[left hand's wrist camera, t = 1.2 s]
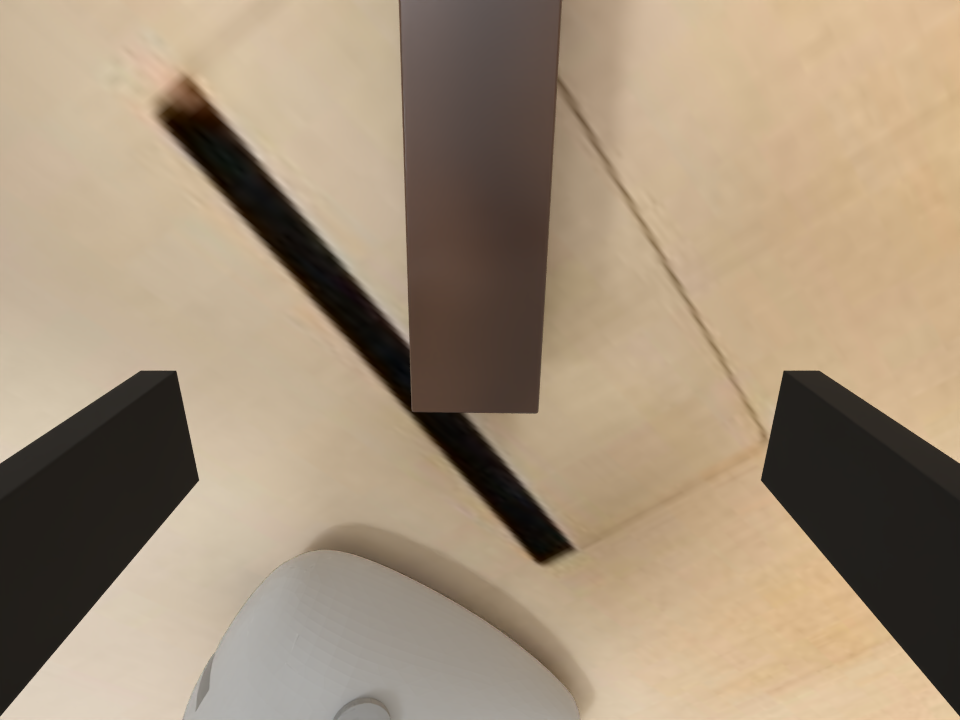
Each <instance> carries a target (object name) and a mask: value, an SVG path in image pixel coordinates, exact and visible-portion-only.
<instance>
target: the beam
mask: <svg viewBox="0 0 960 720" xmlns="http://www.w3.org/2000/svg"><path fill="white" fill-rule="evenodd" d="M561 9H562V0H399V22H400V53H401V85H402V116H403V148H404V180H405V211H406V243H407V274H408V306H409V337H410V369H411V400H412V411H413V412H460V413H538V408H539V390H540V373H541V356H542V338H543V321H544V304H545V286H546V269H547V252H548V234H549V217H550V200H551V182H552V165H553V148H554V130H555V113H556V96H557V78H558V61H559V44H560V26H561Z"/></svg>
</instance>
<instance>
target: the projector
mask: <svg viewBox="0 0 960 720" xmlns="http://www.w3.org/2000/svg"><path fill="white" fill-rule="evenodd" d="M183 720H580V715H579V710H578V707H577V705H576V702H575V699H574V698H573V696H572V695H571V693H570V692H569V691H568V689H567V688H566V687H565V686H564V685H563V684H562V683H561V682H560V681H559V680H558V679H557V678H556V677H555V676H554V675H553V674H552V673H551V672H550V671H549V670H548V669H547V668H546V667H545V666H544V665H542V664H541V663H540V662H539V661H538V660H537V659H536V658H535V657H533V656H532V655H531V654H530V653H528V652H527V651H526V650H525V649H523V648H522V647H521V646H520V645H518V644H517V643H516V642H514V641H513V640H512V639H510V638H509V637H508V636H506V635H505V634H504V633H502V632H501V631H499V630H498V629H497V628H495V627H494V626H492V625H491V624H489V623H488V622H486V621H485V620H483V619H482V618H480V617H479V616H477V615H475V614H474V613H472V612H471V611H469V610H467V609H466V608H464V607H463V606H461V605H459V604H458V603H456V602H454V601H452V600H451V599H449V598H447V597H445V596H444V595H442V594H440V593H438V592H436V591H435V590H433V589H431V588H429V587H427V586H425V585H423V584H421V583H419V582H417V581H415V580H413V579H411V578H409V577H407V576H405V575H403V574H401V573H399V572H397V571H395V570H393V569H390V568H388V567H386V566H383V565H381V564H379V563H376V562H374V561H371V560H369V559H366V558H363V557H360V556H357V555H354V554H350V553H346V552H342V551H336V550H316V551H310V552H307V553H304V554H301V555H299V556H296V557H294V558H292V559H290V560H288V561H287V562H285V563H283V564H282V565H280V566H279V567H278V568H276V569H275V570H274V571H273V572H272V573H271V574H270V575H269V576H268V577H267V578H266V579H265V580H264V581H263V582H262V583H261V585H260V586H259V587H258V588H257V589H256V590H255V591H254V592H253V594H252V595H251V596H250V597H249V599H248V600H247V601H246V603H245V604H244V605H243V607H242V608H241V610H240V611H239V613H238V614H237V616H236V617H235V618H234V620H233V621H232V623H231V625H230V626H229V628H228V629H227V631H226V633H225V634H224V636H223V638H222V639H221V641H220V643H219V645H218V648H217V650H216V652H215V653H214V654H213V655H212V657H211V658H210V660H209V661H208V663H207V665H206V667H205V668H204V670H203V672H202V674H201V676H200V678H199V680H198V682H197V684H196V686H195V688H194V690H193V692H192V694H191V697H190V699H189V701H188V704H187V706H186V710H185V713H184V716H183Z"/></svg>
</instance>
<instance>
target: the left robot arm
mask: <svg viewBox="0 0 960 720" xmlns="http://www.w3.org/2000/svg"><path fill="white" fill-rule="evenodd" d="M198 481H199V478H198V473H197V468H196V463H195V458H194V454H193V449H192V444H191V439H190V434H189V430H188V425H187V420H186V415H185V410H184V406H183V401H182V396H181V391H180V386H179V382H178V377H177V372H176V371H140V372H138V373H137V374H135V375H134V376H132V377H131V378H129V379H128V380H126V381H125V382H123V383H122V384H120V385H119V386H117V387H115V388H114V389H112V390H111V391H109V392H108V393H106V394H105V395H103V396H102V397H100V398H99V399H97V400H96V401H94V402H93V403H91V404H90V405H88V406H87V407H85V408H84V409H82V410H81V411H79V412H78V413H76V414H75V415H73V416H72V417H70V418H69V419H67V420H66V421H64V422H63V423H61V424H59V425H58V426H56V427H55V428H53V429H52V430H50V431H49V432H47V433H46V434H44V435H43V436H41V437H40V438H38V439H37V440H35V441H34V442H32V443H31V444H29V445H28V446H26V447H25V448H23V449H22V450H20V451H19V452H17V453H16V454H14V455H13V456H11V457H10V458H8V459H6V460H5V461H3V462H2V463H0V716H1V715H2V714H3V712H4V711H5V710H6V709H7V708H8V707H9V705H10V704H11V703H12V702H13V701H14V699H15V698H16V697H17V696H18V695H19V693H20V692H21V691H22V690H23V689H24V688H25V686H26V685H27V684H28V683H29V682H30V680H31V679H32V678H33V677H34V676H35V674H36V673H37V672H38V671H39V670H40V669H41V667H42V666H43V665H44V664H45V663H46V661H47V660H48V659H49V658H50V657H51V655H52V654H53V653H54V652H55V651H56V650H57V648H58V647H59V646H60V645H61V644H62V642H63V641H64V640H65V639H66V638H67V636H68V635H69V634H70V633H71V632H72V631H73V629H74V628H75V627H76V626H77V625H78V623H79V622H80V621H81V620H82V619H83V617H84V616H85V615H86V614H87V613H88V612H89V610H90V609H91V608H92V607H93V606H94V604H95V603H96V602H97V601H98V600H99V598H100V597H101V596H102V595H103V594H104V593H105V591H106V590H107V589H108V588H109V587H110V585H111V584H112V583H113V582H114V581H115V579H116V578H117V577H118V576H119V575H120V574H121V572H122V571H123V570H124V569H125V568H126V566H127V565H128V564H129V563H130V562H131V560H132V559H133V558H134V557H135V556H136V555H137V553H138V552H139V551H140V550H141V549H142V547H143V546H144V545H145V544H146V543H147V541H148V540H149V539H150V538H151V537H152V536H153V534H154V533H155V532H156V531H157V530H158V528H159V527H160V526H161V525H162V524H163V522H164V521H165V520H166V519H167V518H168V517H169V515H170V514H171V513H172V512H173V511H174V509H175V508H176V507H177V506H178V505H179V503H180V502H181V501H182V500H183V499H184V498H185V496H186V495H187V494H188V493H189V492H190V490H191V489H192V488H193V487H194V486H195V484H196V483H197V482H198ZM761 481H762V482H763V483H764V484H765V486H766V487H767V488H768V489H769V490H770V492H771V493H772V494H773V495H774V496H775V498H776V499H777V500H778V501H779V502H780V503H781V505H782V506H783V507H784V508H785V509H786V511H787V512H788V513H789V514H790V515H791V517H792V518H793V519H794V520H795V521H796V522H797V524H798V525H799V526H800V527H801V528H802V530H803V531H804V532H805V533H806V534H807V536H808V537H809V538H810V539H811V540H812V541H813V543H814V544H815V545H816V546H817V547H818V549H819V550H820V551H821V552H822V553H823V555H824V556H825V557H826V558H827V559H828V560H829V562H830V563H831V564H832V565H833V566H834V568H835V569H836V570H837V571H838V572H839V574H840V575H841V576H842V577H843V578H844V579H845V581H846V582H847V583H848V584H849V585H850V587H851V588H852V589H853V590H854V591H855V593H856V594H857V595H858V596H859V597H860V598H861V600H862V601H863V602H864V603H865V604H866V606H867V607H868V608H869V609H870V610H871V612H872V613H873V614H874V615H875V616H876V617H877V619H878V620H879V621H880V622H881V623H882V625H883V626H884V627H885V628H886V629H887V631H888V632H889V633H890V634H891V635H892V636H893V638H894V639H895V640H896V641H897V642H898V644H899V645H900V646H901V647H902V648H903V650H904V651H905V652H906V653H907V654H908V655H909V657H910V658H911V659H912V660H913V661H914V663H915V664H916V665H917V666H918V667H919V669H920V670H921V671H922V672H923V673H924V674H925V676H926V677H927V678H928V679H929V680H930V682H931V683H932V684H933V685H934V686H935V688H936V689H937V690H938V691H939V692H940V693H941V695H942V696H943V697H944V698H945V699H946V701H947V702H948V703H949V704H950V705H951V707H952V708H953V709H954V710H955V711H956V712H957V714H958V715H959V716H960V463H958V462H957V461H955V460H954V459H952V458H950V457H949V456H947V455H946V454H944V453H943V452H941V451H940V450H938V449H937V448H935V447H934V446H932V445H931V444H929V443H928V442H926V441H925V440H923V439H922V438H920V437H919V436H917V435H916V434H914V433H913V432H911V431H910V430H908V429H907V428H905V427H904V426H902V425H901V424H899V423H897V422H896V421H894V420H893V419H891V418H890V417H888V416H887V415H885V414H884V413H882V412H881V411H879V410H878V409H876V408H875V407H873V406H872V405H870V404H869V403H867V402H866V401H864V400H863V399H861V398H860V397H858V396H857V395H855V394H854V393H852V392H851V391H849V390H848V389H846V388H845V387H843V386H841V385H840V384H838V383H837V382H835V381H834V380H832V379H831V378H829V377H828V376H826V375H825V374H823V373H822V372H820V371H784V372H783V377H782V382H781V386H780V391H779V396H778V401H777V406H776V410H775V415H774V420H773V425H772V430H771V434H770V439H769V444H768V449H767V454H766V458H765V463H764V468H763V473H762V478H761Z"/></svg>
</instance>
